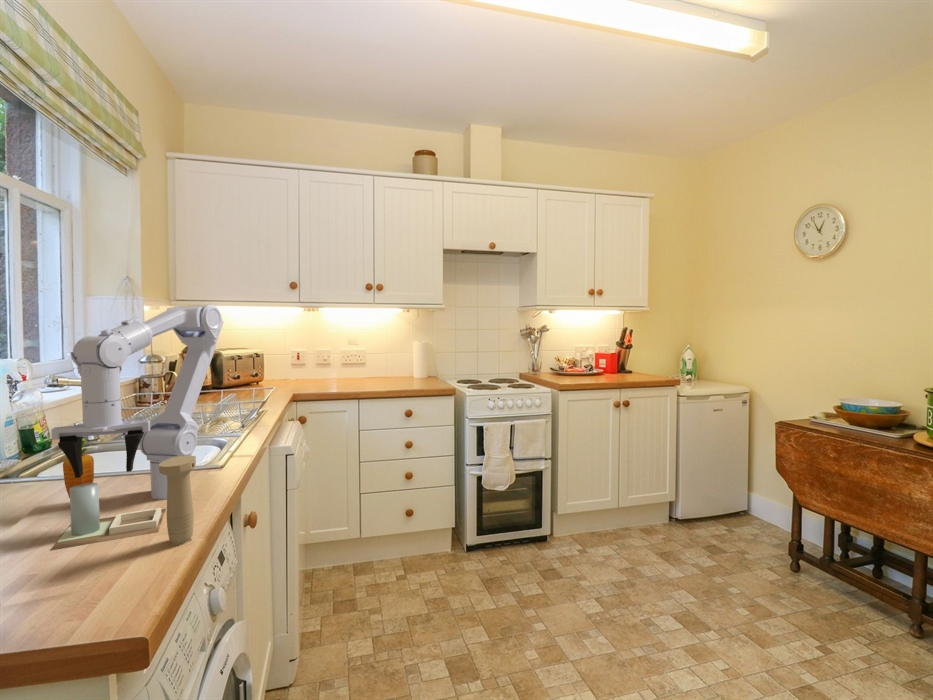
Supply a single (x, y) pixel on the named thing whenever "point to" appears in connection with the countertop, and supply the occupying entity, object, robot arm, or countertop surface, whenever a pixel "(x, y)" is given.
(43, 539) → the countertop surface
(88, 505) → the grey-blue cylinder
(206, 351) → the robot arm
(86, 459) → the carrot
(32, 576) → the countertop surface
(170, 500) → the handle
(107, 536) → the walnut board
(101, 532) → the pad
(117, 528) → the cream square frame
